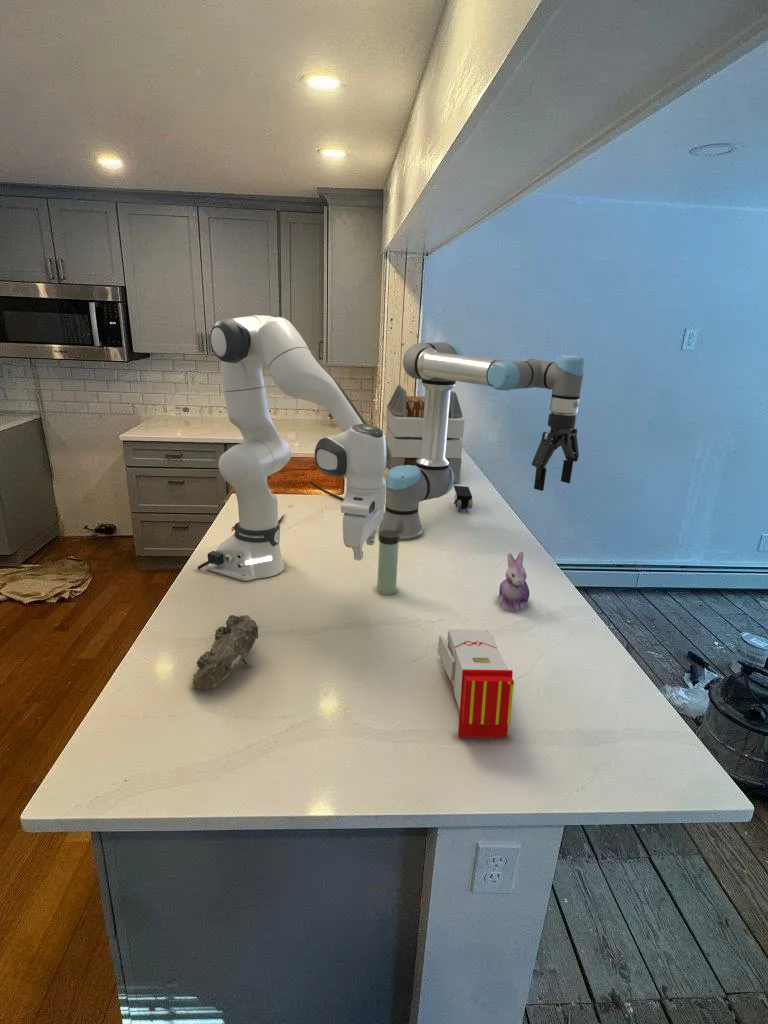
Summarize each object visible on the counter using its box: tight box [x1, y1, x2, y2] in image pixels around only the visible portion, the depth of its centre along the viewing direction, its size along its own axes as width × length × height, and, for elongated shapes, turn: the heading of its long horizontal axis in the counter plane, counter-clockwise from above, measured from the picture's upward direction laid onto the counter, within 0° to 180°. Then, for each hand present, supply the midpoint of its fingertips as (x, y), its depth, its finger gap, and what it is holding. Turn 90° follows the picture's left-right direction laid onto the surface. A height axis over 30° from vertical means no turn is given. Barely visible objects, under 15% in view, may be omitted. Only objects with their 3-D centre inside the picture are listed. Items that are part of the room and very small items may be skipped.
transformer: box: [385, 384, 465, 484], centre depth 268 cm, size 34×33×41 cm
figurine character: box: [453, 485, 474, 513], centre depth 227 cm, size 7×8×15 cm
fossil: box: [192, 614, 259, 691], centre depth 123 cm, size 22×10×15 cm
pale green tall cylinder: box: [376, 540, 400, 595], centre depth 157 cm, size 5×5×17 cm
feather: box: [278, 514, 286, 525], centre depth 209 cm, size 2×28×2 cm
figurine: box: [497, 551, 530, 612], centre depth 152 cm, size 9×10×15 cm
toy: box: [437, 628, 515, 738], centre depth 117 cm, size 12×13×30 cm
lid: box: [378, 530, 401, 544], centre depth 154 cm, size 6×6×2 cm
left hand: (364, 551), depth 135 cm, fingers open, 8 cm apart
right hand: (552, 485), depth 166 cm, fingers open, 13 cm apart
